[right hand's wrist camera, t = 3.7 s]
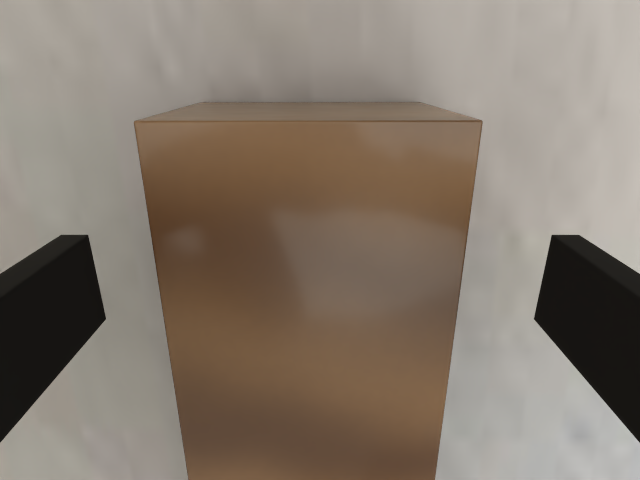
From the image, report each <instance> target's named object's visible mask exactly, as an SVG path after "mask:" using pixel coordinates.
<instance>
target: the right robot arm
mask: <svg viewBox="0 0 640 480" xmlns="http://www.w3.org/2000/svg"><path fill="white" fill-rule="evenodd" d="M105 320H106V317H105V312H104V307H103V303H102V298H101V293H100V289H99V284H98V279H97V274H96V270H95V265H94V260H93V256H92V251H91V246H90V242H89V237H88V235H60V236H59V237H57V238H56V239H54V240H52V241H51V242H49V243H48V244H46V245H45V246H43V247H42V248H40V249H38V250H37V251H35V252H34V253H32V254H31V255H29V256H28V257H26V258H24V259H23V260H21V261H20V262H18V263H17V264H15V265H14V266H12V267H10V268H9V269H7V270H6V271H4V272H3V273H1V274H0V442H1V441H2V440H3V439H4V438H5V436H6V435H7V434H8V433H9V432H10V431H11V429H12V428H13V427H14V426H15V425H16V424H17V422H18V421H19V420H20V419H21V418H22V417H23V415H24V414H25V413H26V412H27V411H28V410H29V408H30V407H31V406H32V405H33V404H34V402H35V401H36V400H37V399H38V398H39V397H40V395H41V394H42V393H43V392H44V391H45V390H46V388H47V387H48V386H49V385H50V384H51V383H52V381H53V380H54V379H55V378H56V377H57V376H58V374H59V373H60V372H61V371H62V370H63V369H64V367H65V366H66V365H67V364H68V363H69V362H70V360H71V359H72V358H73V357H74V356H75V355H76V353H77V352H78V351H79V350H80V349H81V348H82V346H83V345H84V344H85V343H86V342H87V341H88V339H89V338H90V337H91V336H92V335H93V334H94V332H95V331H96V330H97V329H98V328H99V327H100V325H101V324H102V323H103V322H104V321H105ZM534 320H535V321H536V322H537V323H538V324H539V325H540V327H541V328H542V329H543V330H544V331H545V332H546V334H547V335H548V336H549V337H550V338H551V339H552V341H553V342H554V343H555V344H556V345H557V346H558V348H559V349H560V350H561V351H562V352H563V353H564V355H565V356H566V357H567V358H568V359H569V360H570V362H571V363H572V364H573V365H574V366H575V367H576V369H577V370H578V371H579V372H580V373H581V374H582V376H583V377H584V378H585V379H586V380H587V381H588V383H589V384H590V385H591V386H592V387H593V388H594V390H595V391H596V392H597V393H598V394H599V395H600V397H601V398H602V399H603V400H604V401H605V402H606V404H607V405H608V406H609V407H610V408H611V410H612V411H613V412H614V413H615V414H616V415H617V417H618V418H619V419H620V420H621V421H622V422H623V424H624V425H625V426H626V427H627V428H628V429H629V431H630V432H631V433H632V434H633V435H634V436H635V438H636V439H637V440H638V441H639V442H640V274H639V273H637V272H636V271H634V270H633V269H631V268H630V267H628V266H626V265H625V264H623V263H622V262H620V261H619V260H617V259H616V258H614V257H612V256H611V255H609V254H608V253H606V252H605V251H603V250H602V249H600V248H598V247H597V246H595V245H594V244H592V243H591V242H589V241H588V240H586V239H584V238H583V237H581V236H580V235H552V237H551V242H550V246H549V251H548V256H547V260H546V265H545V270H544V274H543V279H542V284H541V289H540V293H539V298H538V303H537V307H536V312H535V317H534Z"/></svg>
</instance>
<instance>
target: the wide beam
mask: <svg viewBox="0 0 640 480" xmlns="http://www.w3.org/2000/svg"><path fill="white" fill-rule="evenodd" d="M134 126H135V132H136V139H137V145H138V152H139V159H140V165H141V172H142V178H143V185H144V191H145V198H146V204H147V211H148V217H149V224H150V231H151V237H152V244H153V250H154V257H155V263H156V270H157V276H158V283H159V289H160V296H161V302H162V309H163V316H164V322H165V329H166V335H167V342H168V348H169V355H170V361H171V368H172V374H173V381H174V388H175V394H176V401H177V407H178V414H179V420H180V427H181V433H182V440H183V446H184V453H185V459H186V466H187V473H188V479H189V480H435V474H436V467H437V459H438V452H439V444H440V437H441V429H442V422H443V414H444V407H445V399H446V392H447V384H448V377H449V370H450V362H451V355H452V347H453V340H454V332H455V325H456V317H457V310H458V302H459V295H460V287H461V280H462V272H463V265H464V257H465V250H466V242H467V235H468V227H469V220H470V212H471V205H472V197H473V190H474V182H475V175H476V167H477V160H478V152H479V145H480V137H481V130H482V120H479V119H475V118H472V117H468V116H465V115H461V114H458V113H455V112H451V111H448V110H444V109H441V108H437V107H434V106H431V105H427V104H424V103H420V102H238V103H197V104H194V105H190V106H187V107H183V108H179V109H176V110H172V111H169V112H165V113H162V114H158V115H154V116H151V117H147V118H144V119H140V120H136V121H134Z"/></svg>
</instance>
